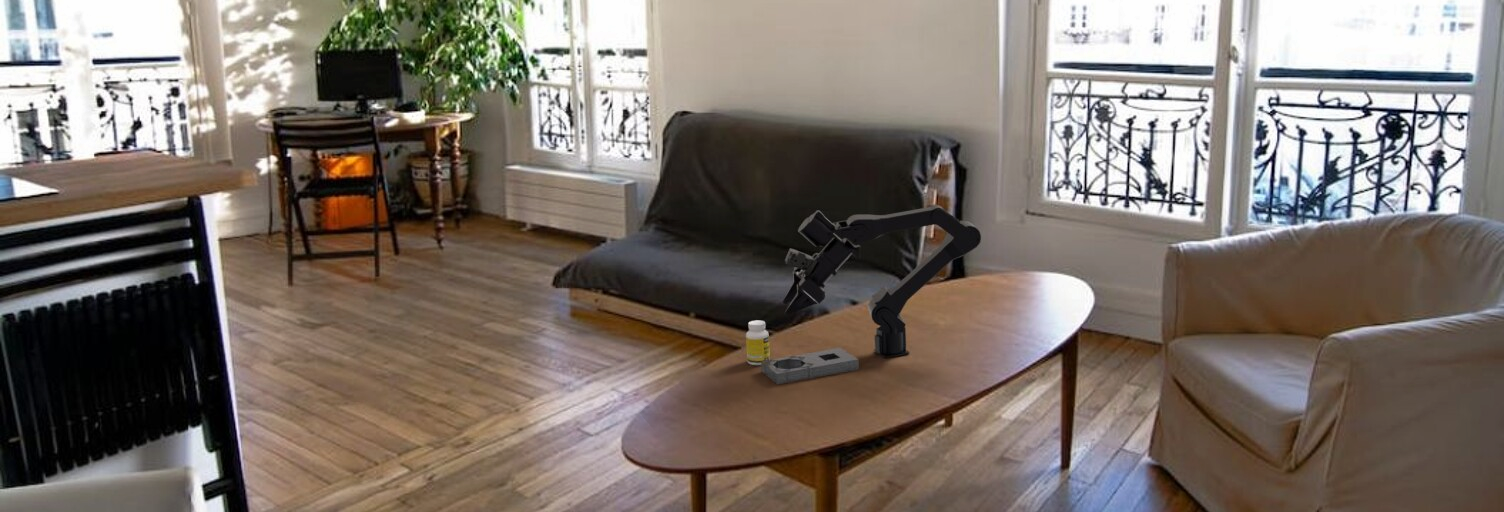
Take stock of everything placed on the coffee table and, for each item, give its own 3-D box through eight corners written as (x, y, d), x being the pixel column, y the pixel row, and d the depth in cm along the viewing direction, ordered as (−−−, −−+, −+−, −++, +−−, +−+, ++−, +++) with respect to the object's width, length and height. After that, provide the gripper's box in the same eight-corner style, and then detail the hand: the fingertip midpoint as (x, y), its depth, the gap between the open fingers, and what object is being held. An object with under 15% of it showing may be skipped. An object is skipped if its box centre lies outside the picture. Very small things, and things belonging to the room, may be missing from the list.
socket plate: (840, 357, 280) (839, 347, 279) (859, 369, 270) (858, 359, 270) (760, 371, 273) (760, 361, 272) (777, 384, 263) (776, 374, 263)
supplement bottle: (768, 366, 277) (765, 325, 275) (745, 365, 278) (742, 325, 276) (772, 358, 282) (769, 319, 280) (750, 358, 283) (747, 319, 281)
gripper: (801, 229, 283) (757, 276, 285) (808, 245, 264) (761, 296, 267) (835, 258, 285) (791, 306, 287) (844, 277, 266) (798, 327, 269)
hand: (785, 308), depth 277 cm, fingers open, 9 cm apart
